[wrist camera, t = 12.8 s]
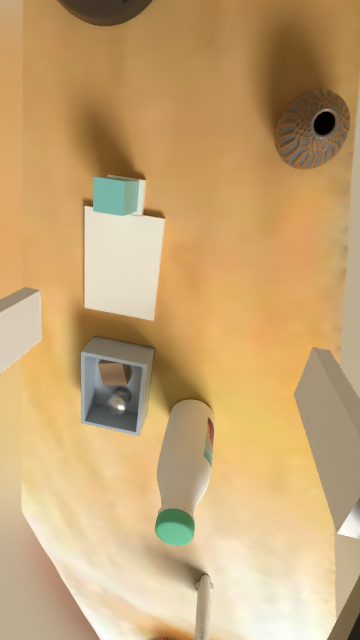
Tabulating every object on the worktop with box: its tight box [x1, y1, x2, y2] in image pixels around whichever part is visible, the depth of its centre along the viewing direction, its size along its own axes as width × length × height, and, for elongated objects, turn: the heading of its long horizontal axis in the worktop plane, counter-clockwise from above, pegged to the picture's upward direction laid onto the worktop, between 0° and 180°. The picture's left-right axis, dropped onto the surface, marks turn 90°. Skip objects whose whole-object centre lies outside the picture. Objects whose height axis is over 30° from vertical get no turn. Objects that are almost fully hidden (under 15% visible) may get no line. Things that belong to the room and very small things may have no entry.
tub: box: [81, 336, 155, 436], centre depth 50 cm, size 14×10×5 cm
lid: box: [85, 175, 165, 321], centre depth 40 cm, size 19×11×7 cm, turn 172°
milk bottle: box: [155, 399, 214, 546], centre depth 44 cm, size 8×8×20 cm
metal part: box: [106, 387, 131, 414], centre depth 51 cm, size 3×3×3 cm
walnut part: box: [98, 359, 132, 385], centre depth 49 cm, size 4×4×3 cm
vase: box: [275, 89, 350, 169], centre depth 31 cm, size 7×7×9 cm
